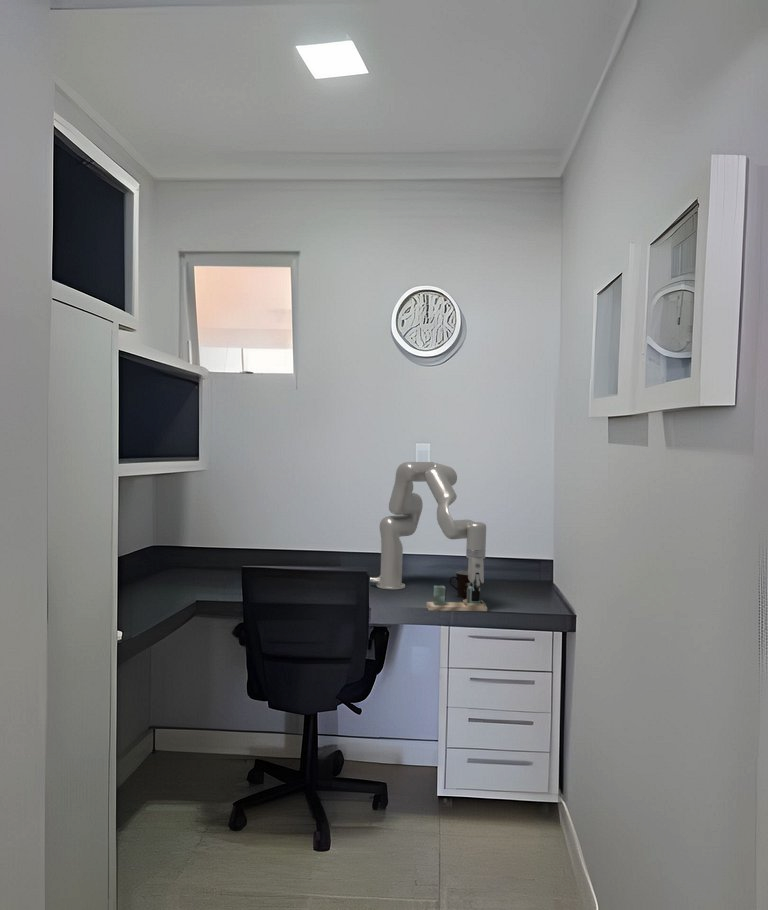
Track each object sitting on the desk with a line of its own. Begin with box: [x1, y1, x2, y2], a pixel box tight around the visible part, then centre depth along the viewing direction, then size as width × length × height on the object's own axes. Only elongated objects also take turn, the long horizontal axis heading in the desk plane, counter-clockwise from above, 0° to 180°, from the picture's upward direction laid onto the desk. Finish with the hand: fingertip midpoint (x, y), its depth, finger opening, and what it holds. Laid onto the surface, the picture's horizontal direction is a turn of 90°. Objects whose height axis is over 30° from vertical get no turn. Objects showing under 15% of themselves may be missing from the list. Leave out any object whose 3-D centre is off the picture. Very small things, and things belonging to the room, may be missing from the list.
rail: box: [425, 585, 488, 612], centre depth 318 cm, size 23×8×8 cm, turn 94°
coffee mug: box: [449, 570, 470, 599], centre depth 341 cm, size 12×9×10 cm
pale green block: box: [466, 586, 480, 604], centre depth 318 cm, size 5×4×7 cm
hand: (474, 598), depth 318 cm, fingers open, 5 cm apart
